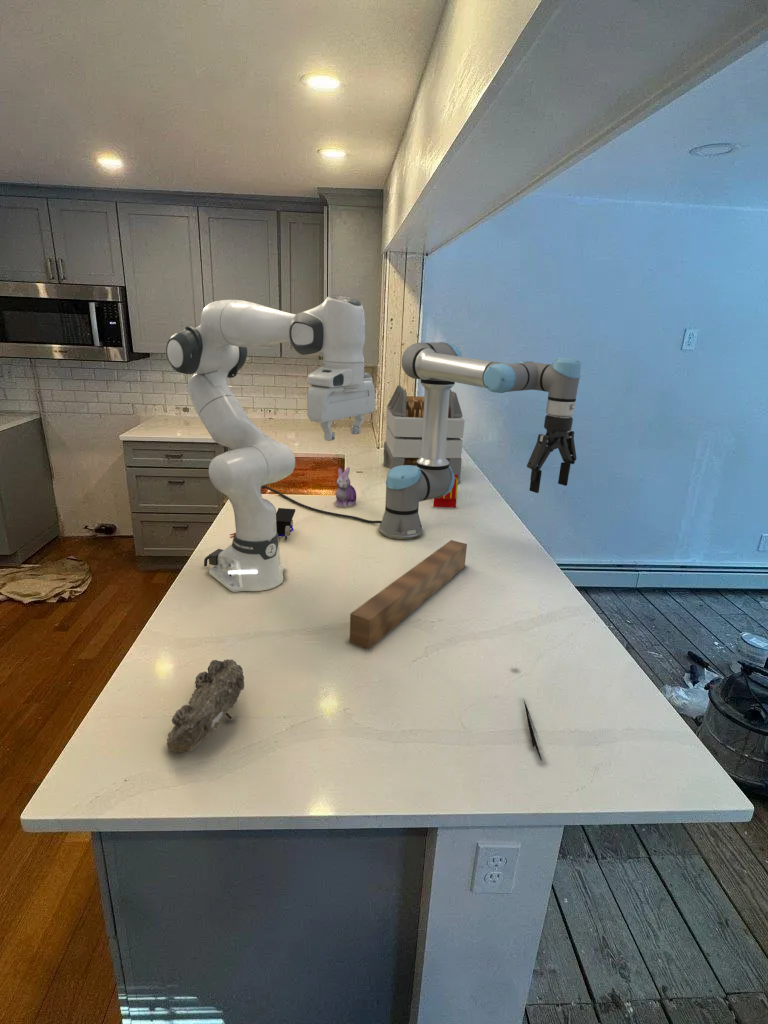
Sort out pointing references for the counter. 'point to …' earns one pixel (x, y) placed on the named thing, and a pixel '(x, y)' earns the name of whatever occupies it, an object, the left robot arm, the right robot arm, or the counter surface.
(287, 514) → the figurine character
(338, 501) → the figurine
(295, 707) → the counter surface
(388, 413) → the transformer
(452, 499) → the toy
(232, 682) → the fossil
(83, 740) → the counter surface
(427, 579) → the bar
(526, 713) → the feather
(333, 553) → the counter surface
